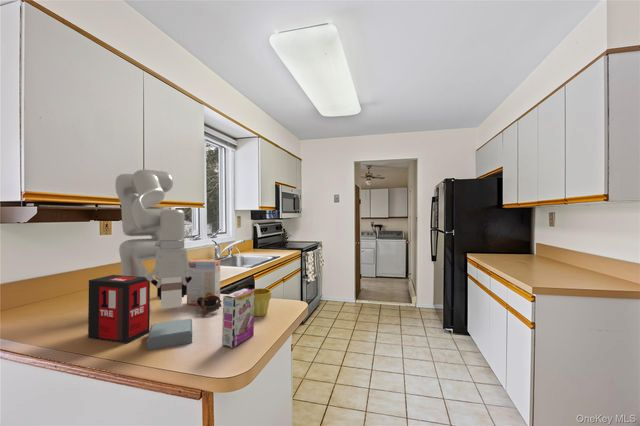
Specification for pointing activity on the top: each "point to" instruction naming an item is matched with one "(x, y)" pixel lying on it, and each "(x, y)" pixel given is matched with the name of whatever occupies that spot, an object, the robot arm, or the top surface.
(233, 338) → the candy bar box
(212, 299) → the brown clay jug
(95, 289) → the cleaning product box
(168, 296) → the cream carton
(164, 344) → the display podium
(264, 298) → the plant pot
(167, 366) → the top surface
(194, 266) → the cracker box
